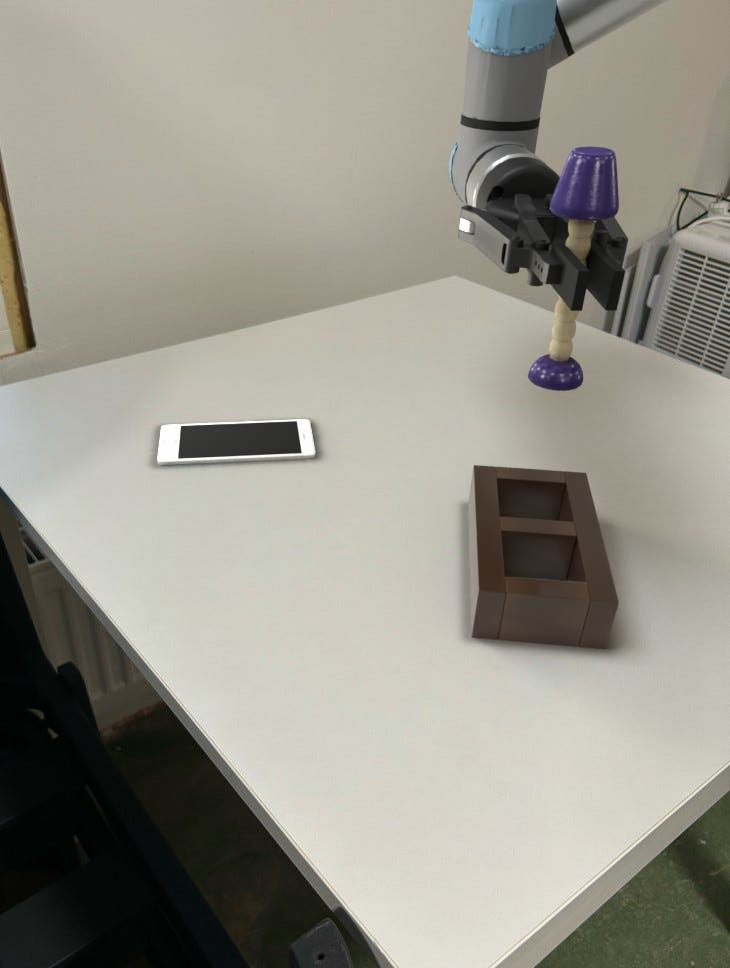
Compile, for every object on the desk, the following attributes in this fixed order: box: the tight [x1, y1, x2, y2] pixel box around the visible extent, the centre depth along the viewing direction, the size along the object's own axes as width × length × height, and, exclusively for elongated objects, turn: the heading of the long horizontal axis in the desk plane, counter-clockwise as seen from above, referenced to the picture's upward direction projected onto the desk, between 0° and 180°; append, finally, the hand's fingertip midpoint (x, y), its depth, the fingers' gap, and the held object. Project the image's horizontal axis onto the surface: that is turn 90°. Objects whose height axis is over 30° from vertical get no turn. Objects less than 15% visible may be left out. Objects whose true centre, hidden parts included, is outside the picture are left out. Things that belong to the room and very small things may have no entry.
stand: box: [467, 464, 620, 650], centre depth 68 cm, size 10×18×5 cm, turn 173°
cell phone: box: [156, 418, 317, 466], centre depth 87 cm, size 8×16×1 cm, turn 96°
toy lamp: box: [527, 146, 620, 392], centre depth 60 cm, size 5×5×17 cm
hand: (597, 290), depth 55 cm, fingers closed on toy lamp, 2 cm apart
